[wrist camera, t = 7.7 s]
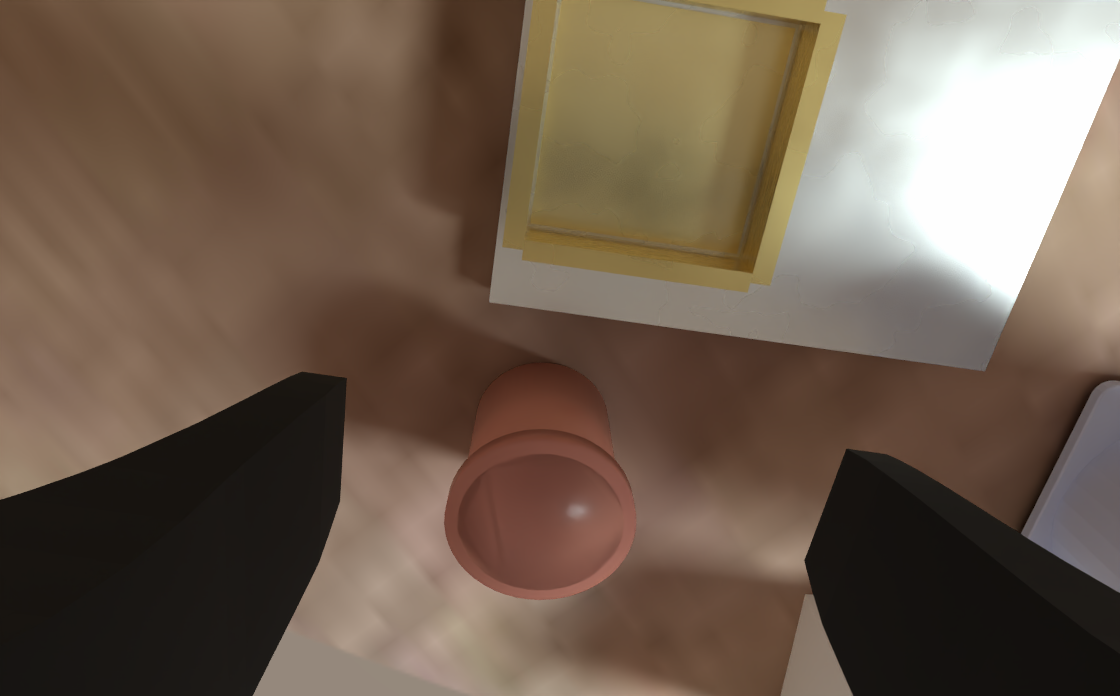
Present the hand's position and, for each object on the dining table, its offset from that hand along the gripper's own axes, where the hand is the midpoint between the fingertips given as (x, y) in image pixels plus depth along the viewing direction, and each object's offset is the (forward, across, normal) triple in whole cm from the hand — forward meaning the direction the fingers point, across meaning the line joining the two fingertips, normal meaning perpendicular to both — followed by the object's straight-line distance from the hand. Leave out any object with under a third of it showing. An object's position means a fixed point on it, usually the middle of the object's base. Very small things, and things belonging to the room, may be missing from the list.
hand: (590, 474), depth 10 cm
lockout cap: (+10, 0, +5) cm, 12 cm away
